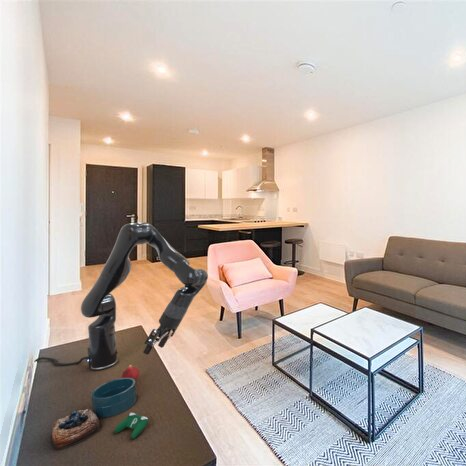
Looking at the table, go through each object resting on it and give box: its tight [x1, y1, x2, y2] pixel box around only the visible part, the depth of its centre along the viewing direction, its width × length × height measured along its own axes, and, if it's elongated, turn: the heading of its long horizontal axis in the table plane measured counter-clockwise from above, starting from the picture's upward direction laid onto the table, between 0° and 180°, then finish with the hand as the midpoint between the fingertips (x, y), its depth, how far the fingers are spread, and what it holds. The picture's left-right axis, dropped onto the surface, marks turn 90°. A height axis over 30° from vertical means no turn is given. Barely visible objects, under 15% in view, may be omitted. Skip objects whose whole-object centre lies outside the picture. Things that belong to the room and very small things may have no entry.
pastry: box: [51, 408, 100, 450], centre depth 93 cm, size 11×12×6 cm
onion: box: [121, 364, 140, 382], centre depth 119 cm, size 6×6×8 cm
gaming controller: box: [114, 412, 149, 440], centre depth 95 cm, size 9×4×6 cm
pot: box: [91, 377, 137, 419], centre depth 106 cm, size 12×12×7 cm
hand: (153, 349), depth 116 cm, fingers open, 8 cm apart
